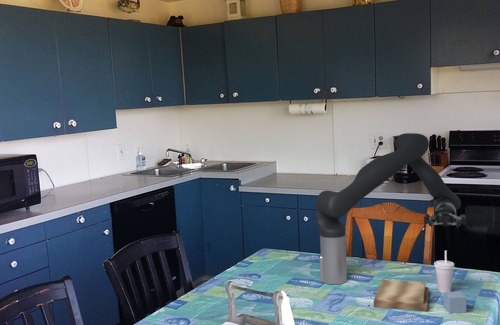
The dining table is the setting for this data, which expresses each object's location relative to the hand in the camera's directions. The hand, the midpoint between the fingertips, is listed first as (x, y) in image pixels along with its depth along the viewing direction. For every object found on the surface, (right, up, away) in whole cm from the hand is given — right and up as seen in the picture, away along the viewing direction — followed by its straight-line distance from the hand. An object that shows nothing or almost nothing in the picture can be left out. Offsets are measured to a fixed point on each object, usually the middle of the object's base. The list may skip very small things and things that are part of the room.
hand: (444, 224), depth 183 cm
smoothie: (-3, -22, -7) cm, 23 cm away
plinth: (-19, -23, -13) cm, 32 cm away
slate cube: (-5, -24, -23) cm, 34 cm away
